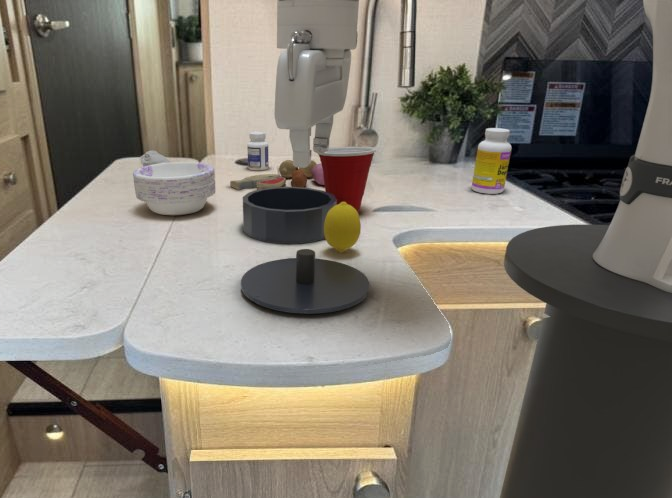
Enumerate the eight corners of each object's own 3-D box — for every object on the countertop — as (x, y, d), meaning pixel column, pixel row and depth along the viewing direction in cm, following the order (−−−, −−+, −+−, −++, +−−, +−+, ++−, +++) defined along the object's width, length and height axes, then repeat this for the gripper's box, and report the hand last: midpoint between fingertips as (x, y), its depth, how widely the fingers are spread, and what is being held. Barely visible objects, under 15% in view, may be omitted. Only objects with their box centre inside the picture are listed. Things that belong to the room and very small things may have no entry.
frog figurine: (146, 178, 130) (143, 148, 127) (175, 178, 129) (173, 148, 126) (138, 184, 124) (135, 153, 121) (168, 184, 124) (166, 153, 121)
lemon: (316, 249, 85) (318, 199, 82) (348, 244, 87) (351, 195, 84) (332, 261, 81) (335, 208, 77) (365, 256, 83) (369, 204, 79)
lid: (377, 272, 77) (380, 237, 74) (357, 327, 62) (360, 285, 60) (264, 260, 81) (264, 226, 79) (221, 307, 67) (219, 268, 64)
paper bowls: (132, 203, 110) (128, 163, 106) (206, 196, 114) (204, 158, 111) (142, 224, 97) (137, 180, 93) (225, 216, 101) (223, 173, 98)
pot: (342, 219, 99) (343, 190, 97) (323, 248, 86) (324, 214, 83) (260, 212, 104) (260, 184, 101) (230, 238, 90) (228, 206, 88)
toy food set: (305, 169, 138) (305, 153, 136) (356, 180, 127) (357, 162, 126) (227, 187, 122) (226, 169, 120) (279, 200, 111) (279, 181, 109)
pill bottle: (261, 165, 142) (260, 130, 139) (272, 169, 139) (272, 133, 135) (243, 168, 140) (243, 132, 136) (255, 171, 136) (254, 135, 132)
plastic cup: (345, 201, 111) (348, 140, 106) (383, 213, 103) (389, 148, 98) (303, 209, 105) (304, 146, 100) (339, 223, 97) (343, 155, 92)
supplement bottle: (495, 196, 114) (507, 133, 108) (465, 191, 118) (475, 129, 112) (508, 190, 118) (520, 129, 113) (479, 185, 122) (488, 126, 117)
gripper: (323, 30, 50) (317, 179, 56) (360, 33, 68) (352, 146, 74) (259, 30, 52) (259, 174, 58) (311, 33, 70) (307, 143, 76)
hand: (311, 158), depth 66 cm, fingers open, 8 cm apart
